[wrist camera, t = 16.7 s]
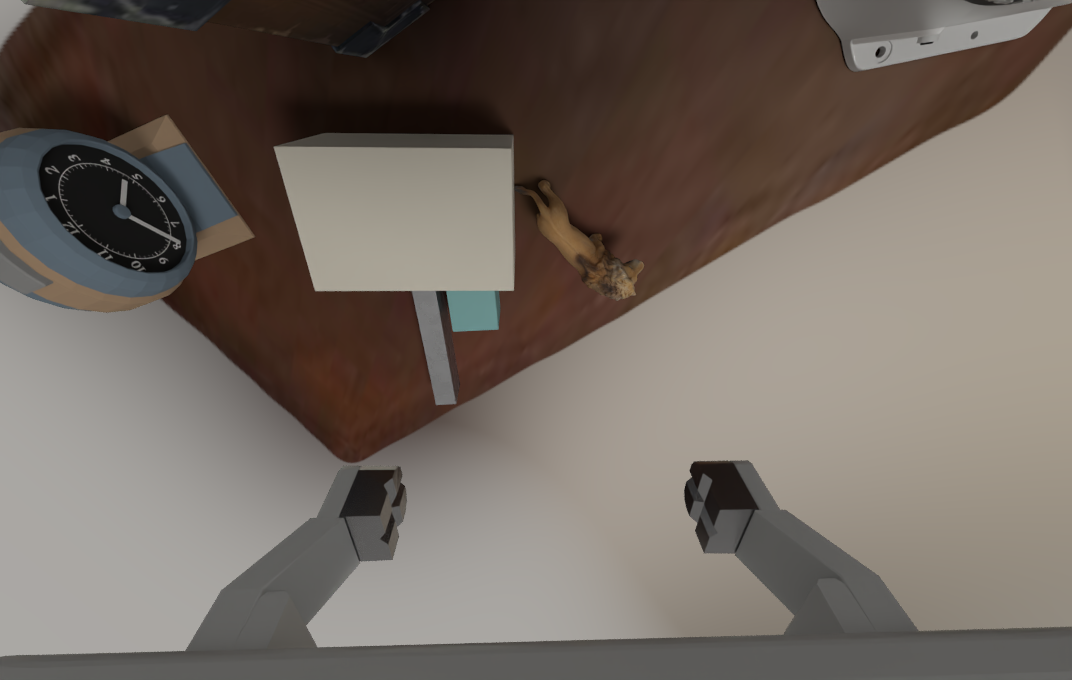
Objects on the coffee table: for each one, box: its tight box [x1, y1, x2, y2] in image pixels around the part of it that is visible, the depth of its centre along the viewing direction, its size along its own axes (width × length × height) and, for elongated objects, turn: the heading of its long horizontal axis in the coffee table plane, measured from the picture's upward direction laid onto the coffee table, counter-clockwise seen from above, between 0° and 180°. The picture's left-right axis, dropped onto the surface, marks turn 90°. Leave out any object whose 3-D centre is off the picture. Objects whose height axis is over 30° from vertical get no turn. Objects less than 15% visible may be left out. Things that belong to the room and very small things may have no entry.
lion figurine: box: [514, 180, 644, 300], centre depth 42 cm, size 15×5×9 cm, turn 54°
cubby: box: [274, 133, 515, 291], centre depth 40 cm, size 18×12×10 cm, turn 89°
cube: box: [446, 291, 500, 332], centre depth 47 cm, size 5×5×5 cm
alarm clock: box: [0, 115, 255, 313], centre depth 35 cm, size 14×10×18 cm
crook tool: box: [412, 291, 460, 405], centre depth 50 cm, size 8×18×4 cm, turn 2°
